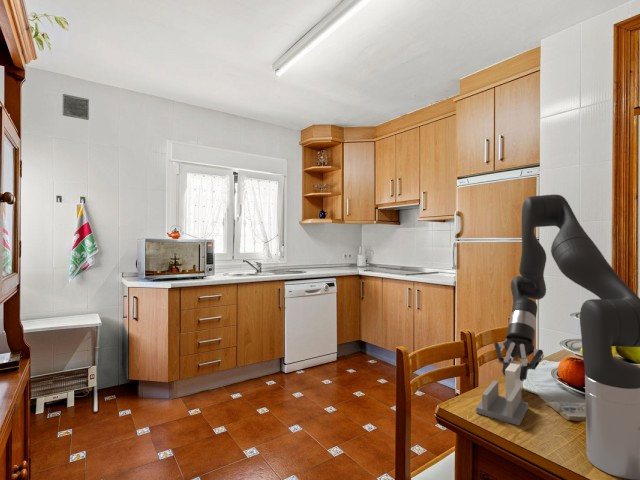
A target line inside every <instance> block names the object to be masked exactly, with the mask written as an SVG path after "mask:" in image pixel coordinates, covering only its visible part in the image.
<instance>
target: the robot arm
mask: <svg viewBox="0 0 640 480" xmlns="http://www.w3.org/2000/svg"><path fill="white" fill-rule="evenodd" d="M570 205H571V204H569V202H568V200H567V199H566V198H565V197H564V196H563V195H561V194H545V195H544V194H543V195H533V196H528V197H526V198H525V199H524V201H523V203H522V208H521V257H520V262H519V268H518V270H519V271H518V273H519V274H520V275H517V276H515V277H512V280H511V282H510V290H511V295H512V309H511V314H510V317H509V320H508V326H507V330H506V331H507V332H506V338H505V340H504V341H503V342H502V343H498V342H494V343H493V345H494V349H495V353H496V357H497V359H498V363H500V364H503V365H502V370H501V371H502V374H503V376H504V377H505V369H506V368H507V367H508V366H509V365H510V363H511V362H512V361H513V360H514V358H517V359H521V362H522V366H521V371H520V380H521V381H523V382H524V381H525V380H527V377H528V371H529V370H534V371H535V370H536V369H537V368H538V365H539V364H540V362H541V361H542V359H543V358H544V356H545V355H544V352H543V349H537V348H535V346H534V343H535V335H536V331H537V315H538V314H537V313H538V304H537V302H536V301H535V300H537V301H540V300H541V299H544V297H545V296H546V294H547V285H546V282H545V277H544V275H545V273H544V272H545V267H546V263H547V253H546V251H545V249H544V247H543V246H542V244H541V243H540V241H539V240H538V238H537V236H536V234H535V228H544V227H557V228H558V229H559V231H558V233H557V234H556V236H555V237H554V239H553V242H552V244H551V248H550V250H551V251H550V252H551V257H552V259H553V260H554V262H555V264H556V265H557V267H558V270H560V272H561V273H562V274H563V275H564V276H565V277H566V278H567V279H569V280H570V281H572V282H573V283H575V284H576V285H578V286H580V287H581V288H583V289H586V290H587V291H589V292H591V293H592V294H593V295H595V296H596V297H598V298H597V299H596V298H594V299H593V298H591V299H587V300H585V301H584V302H583V303H582V305H581V307H580V311H579V325H580V327H579V328H580V337H581V350H582V354H581V355H582V360H583V365H584V386H585V387H584V388H585V390H584V391H585V392H584V394H585V402H586V420H585V430H586V431H585V432H586V434H585V435H586V436H585V438H586V445H585V449H586V458H587V460H588V462H589V463H591V464H592V465H593V466H594V467H595V468H597V469H599V470H601V471H602V472H604V473H606V474H609V475H610V476H611V475H612V476H614V477H617V478H622V479H625V480H640V367H639V366H638V365H635V364H633V363H630V362H628V361H625V360H622V359H620V358H617V357H615V356H614V355H613V354H614V353H613V350H612V347H623V348H624V347H625V348H628V347H629V348H640V297H639V296H638V295H637V294H636V292H635V291H633V289H632V288H630V286H628V285H627V283H626V282H624V280H623V279H622V278H621V277H620V276H619V275H618V274H617V272H616V271H615V269H614V268H613V267H612V266H611V265H610V264H609V262H608V261H607V259H606V258H605V256H604V255H603V254H602V252H601V250H600V249H599V248H598V246H597V245H596V244H595V243H594V241H593V240H592V238H591V237H590V236H589V235H588V234H587V232H586V231H585V229H584V228H583V227H582V225H581V223H580V222H579V221H578V219H577V217H576V215H575V213H574V211H573V209H572V208H571V206H570ZM503 349H505V350H506V354H505V356H504V357H503V354H502V351H503ZM532 354H533V357H532V359H531V360H530V362H528V357H529V356H531V355H532Z"/></svg>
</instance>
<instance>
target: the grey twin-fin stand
mask: <svg viewBox="0 0 640 480" xmlns="http://www.w3.org/2000/svg"><path fill="white" fill-rule="evenodd" d="M499 393H500V392H499V381H498V380H492V382H491V383H490V384H489V385H488V386H487V388H486V389H485V390H484V391H483V392H482V394H481V395H482V396H481V401H480V402H479V404H478V405H477V406H476V407H475V411H476V412H475V413H476V414H477V413H479V414H478V415H481V414H482V416H484V415H485V417H487V416H488V417H487V418H492V419H494V418H495V420H498V421H502V422H504V423H508V424H513V425H514V426H518V427H519V426H520V425H521V423H522V421H523V419H524V417H525V415H527V412H528V410H529V403H528V402H525V401H523V400H522V390H521V386H516V387H515V388H514V390H513V391H512V393H511V394H510V396H509V397H508V398H506V396H502V395H499Z"/></svg>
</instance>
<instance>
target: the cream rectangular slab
mask: <svg viewBox="0 0 640 480" xmlns="http://www.w3.org/2000/svg"><path fill="white" fill-rule="evenodd" d="M522 365H523V364H522V361H519V360H514V359H513V360H512V361H511V363H510V365H509V366H508V367H507V368H506V369H505V376H504V379H505V380H504V381H505V382H504V383H505V397H506V398H508V397H509V396H510V394H511V393H512V391H513V390H514V388H515V387H516V386H521V391H522V390H524V389H523V388H524V383H523V382H524V381H521V380H520V371H521V366H522Z"/></svg>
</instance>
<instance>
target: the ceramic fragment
mask: <svg viewBox="0 0 640 480" xmlns="http://www.w3.org/2000/svg"><path fill="white" fill-rule="evenodd" d="M544 405H545V406H547V407H551V408H552V410H555V411H556V412H558V413H559V414H560V416H562V418H564V419H565V420H568V421H580V422H581V421H582V422H584V421H586V401H583V402H565V401H563V402H561V401H558V402H557V401H545V402H544Z"/></svg>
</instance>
